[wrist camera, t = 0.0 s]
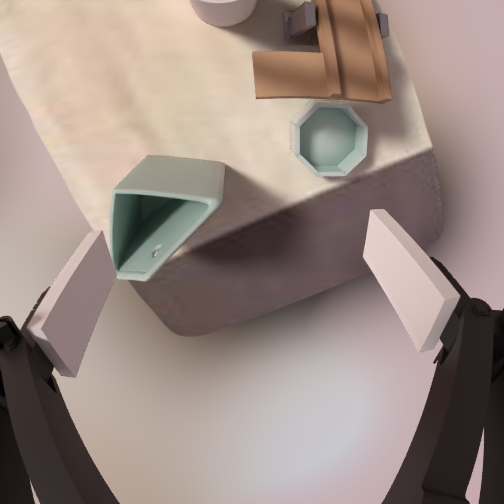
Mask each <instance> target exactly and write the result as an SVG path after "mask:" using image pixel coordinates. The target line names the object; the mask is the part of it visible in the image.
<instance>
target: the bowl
mask: <svg viewBox="0 0 504 504" xmlns="http://www.w3.org/2000/svg"><path fill="white" fill-rule="evenodd" d="M290 121H291V122H290V150H291V151H292V153H293V154H294V155H295V156H296V157H297V158H298V159H299V160H300V161H301V162H302V163H303V164H304V165H305V166H306V167H307V168H308V169H309V170H310V171H311V172H313V173H314V174H315V175H316V176H317V177H320V176H345V175H347V174H348V173H349V172H350V171H351V170H352V169H353V168H354V167H355V166H356V165H358V164H359V163H360V162H361V161H362V160H363V159H364V158H365V157H366V156H365V155H366V154H367V139H368V126H367V125H366V124H365V122H364V121H363V120H362V119H361V118H360V117H359V115H358V114H357V113H356V112H355V111H354V110H353V108H352V107H351V106H350V105H349V104H346V103H342V102H334V101H310V102H309V103H308V104H307V105H306V106H304V107H303V108H302V109H301V110H300V111H299V112H298V113H297V114H296V115H295V116H294V117H293V118H292V119H291V120H290Z"/></svg>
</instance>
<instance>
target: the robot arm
mask: <svg viewBox="0 0 504 504" xmlns="http://www.w3.org/2000/svg"><path fill="white" fill-rule="evenodd" d="M363 258H364V259H365V261H366V262H367V264H368V266H369V267H370V269H371V270H372V272H373V273H374V275H375V277H376V278H377V280H378V282H379V283H380V285H381V286H382V288H383V290H384V292H385V293H386V295H387V297H388V298H389V300H390V302H391V303H392V305H393V307H394V309H395V311H396V312H397V314H398V316H399V318H400V319H401V321H402V323H403V325H404V327H405V328H406V330H407V332H408V334H409V336H410V338H411V339H412V341H413V343H414V345H415V347H416V349H417V351H418V353H421V352H424V351H428V350H432V349H434V347H435V346H436V344H437V342H438V340H439V338H440V340H441V342H442V343H443V347H442V348H441V350H440V352H439V353H438V355H437V357H436V358H435V360H434V362H433V363H434V364H435V363H436V362H437V360H438V362H437V367H436V370H435V374H434V377H433V381H432V385H431V388H430V392H429V395H428V398H427V401H426V404H425V407H424V410H423V413H422V416H421V419H420V422H419V424H418V427H417V430H416V432H415V435H414V437H413V440H412V442H411V445H410V447H409V450H408V452H407V454H406V457H405V459H404V461H403V463H402V465H401V468H400V470H399V472H398V474H397V476H396V478H395V480H394V482H393V484H392V486H391V488H390V490H389V492H388V493H387V495H386V497H385V499H384V501H383V502H382V503H381V504H470V503H469V501H468V500H467V499H466V498H465V494H466V490H467V486H468V484H469V481H470V478H471V475H472V472H473V468H474V465H475V461H476V458H477V454H478V450H479V446H480V442H481V437H482V433H483V428H484V457H483V472H482V482H481V490H480V498H479V504H504V309H503V310H502V311H500V310H492V309H491V307H490V306H489V305H488V304H487V303H486V302H485V301H483V300H481V299H478V298H470V297H469V296H468V295H467V293H466V292H465V291H464V290H463V288H462V287H461V286H460V285H459V283H458V282H457V281H456V280H455V279H454V278H453V276H452V275H451V274H450V273H449V272H448V270H447V269H446V268H445V267H444V266H443V264H442V263H441V262H439V261H437V260H436V259H435V258H433V257H428V256H427V255H426V254H425V252H424V251H423V250H422V249H421V248H420V247H419V246H418V245H417V243H416V242H415V241H414V240H413V239H412V238H411V237H410V236H409V235H408V234H407V233H406V232H405V230H404V229H403V228H402V227H401V226H400V225H399V224H398V223H397V222H396V221H395V220H394V219H393V218H392V217H391V216H390V215H389V214H388V213H387V212H386V211H385V210H384V209H375V210H370V217H369V224H368V230H367V236H366V242H365V248H364V254H363ZM116 277H117V273H116V270H115V267H114V264H113V262H112V259H111V256H110V253H109V250H108V247H107V244H106V241H105V237H104V234H103V231H102V230H100V231H92V232H89V233H88V235H87V236H86V237H85V239H84V240H83V241H82V243H81V244H80V245H79V247H78V248H77V249H76V251H75V252H74V254H73V255H72V257H71V258H70V259H69V261H68V262H67V264H66V265H65V267H64V268H63V269H62V271H61V272H60V274H59V275H58V277H57V278H56V280H55V281H54V283H53V284H52V286H51V287H49V288H48V289H47V290H46V291H45V292H43V293H42V295H41V296H40V298H39V299H38V301H37V304H35V306H34V307H33V310H32V311H31V312H30V314H29V316H28V317H27V319H26V321H25V323H24V324H23V326H22V328H21V330H19V329H18V327H17V326H16V324H15V322H14V321H13V319H12V318H11V317H10V316H3V317H0V504H35V502H34V498H33V493H32V489H31V484H30V481H31V483H32V486H33V488H34V491H35V493H36V495H37V497H38V499H39V502H40V504H120V503H119V502H118V501H117V499H116V498H115V496H114V494H113V493H112V492H111V490H110V488H109V487H108V485H107V484H106V482H105V481H104V479H103V477H102V476H101V474H100V472H99V471H98V469H97V467H96V466H95V464H94V462H93V460H92V458H91V457H90V455H89V453H88V451H87V449H86V447H85V446H84V443H83V441H82V439H81V437H80V435H79V434H78V431H77V429H76V427H75V425H74V423H73V421H72V419H71V416H70V414H69V412H68V409H67V407H66V405H65V402H64V400H63V397H62V395H61V392H60V390H59V387H58V384H57V382H56V379H55V377H54V376H53V375H52V371H53V368H54V367H55V368H56V370H57V371H58V372H59V373H60V375H61V376H67V377H74V378H75V377H76V376H77V373H78V370H79V367H80V364H81V361H82V359H83V356H84V353H85V350H86V348H87V345H88V342H89V340H90V338H91V335H92V332H93V330H94V327H95V324H96V323H97V320H98V317H99V315H100V313H101V310H102V308H103V306H104V304H105V301H106V299H107V297H108V295H109V292H110V290H111V288H112V286H113V284H114V282H115V279H116ZM29 478H30V479H29Z"/></svg>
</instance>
